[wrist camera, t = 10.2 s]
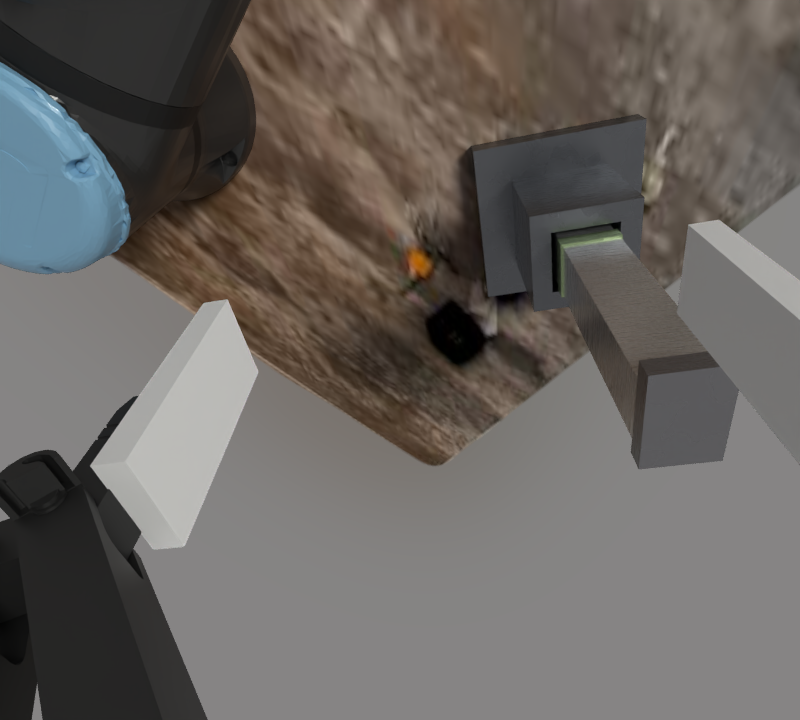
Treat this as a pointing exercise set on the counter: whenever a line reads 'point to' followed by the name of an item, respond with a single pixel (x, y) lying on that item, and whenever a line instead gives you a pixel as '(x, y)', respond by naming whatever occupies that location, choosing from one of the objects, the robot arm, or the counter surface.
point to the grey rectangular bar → (644, 350)
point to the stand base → (555, 199)
